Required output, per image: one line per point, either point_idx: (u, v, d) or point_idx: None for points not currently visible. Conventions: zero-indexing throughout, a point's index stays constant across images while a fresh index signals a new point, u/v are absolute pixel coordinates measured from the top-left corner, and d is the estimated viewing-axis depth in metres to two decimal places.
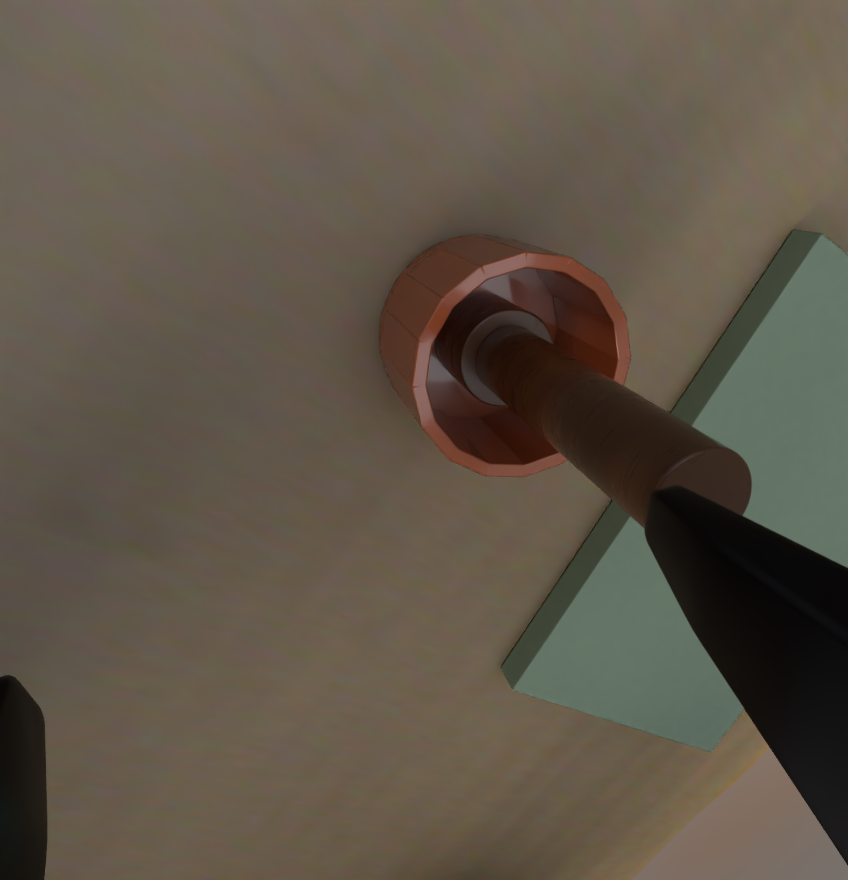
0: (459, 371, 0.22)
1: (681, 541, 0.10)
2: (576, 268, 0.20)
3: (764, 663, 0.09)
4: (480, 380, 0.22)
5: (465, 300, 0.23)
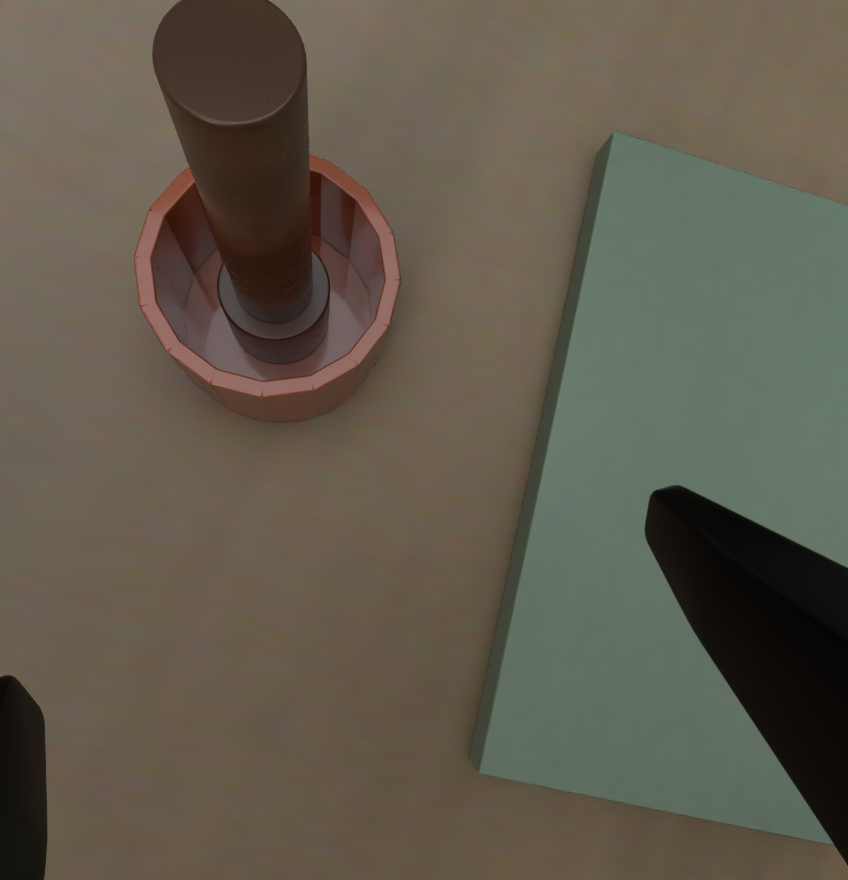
0: (224, 312, 0.20)
1: (681, 541, 0.10)
2: None
3: (764, 663, 0.09)
4: (247, 312, 0.20)
5: None
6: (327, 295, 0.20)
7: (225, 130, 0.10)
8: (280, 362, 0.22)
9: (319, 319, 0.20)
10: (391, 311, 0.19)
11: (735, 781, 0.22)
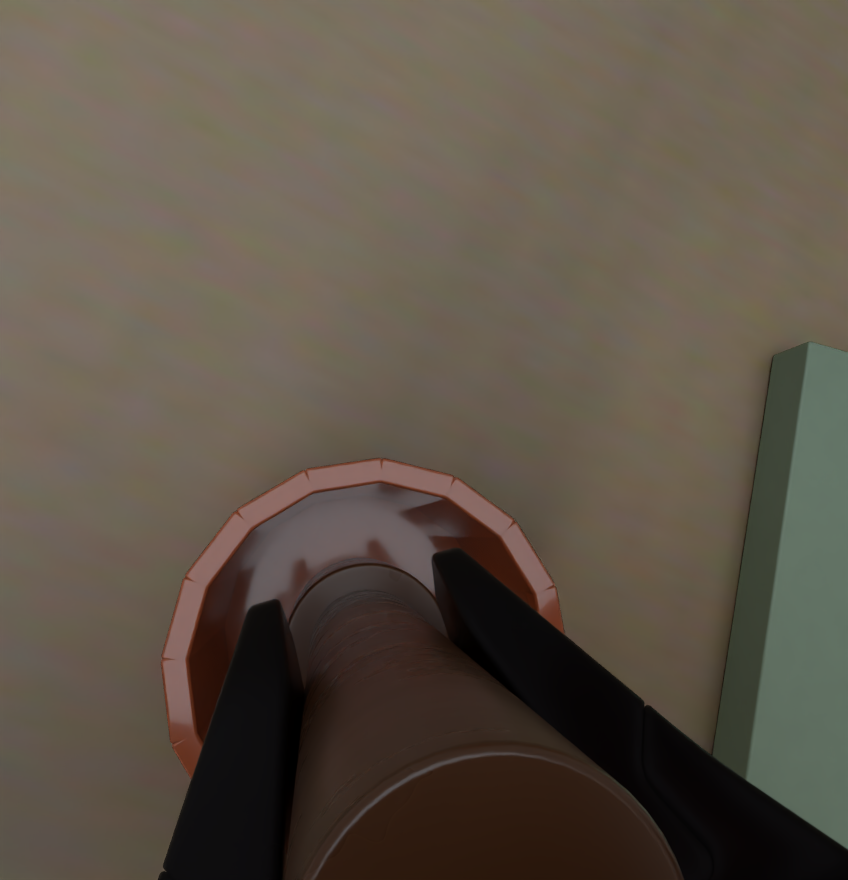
0: None
1: (450, 611, 0.09)
2: (399, 470, 0.12)
3: None
4: None
5: (313, 578, 0.16)
6: None
7: None
8: None
9: None
10: None
11: None
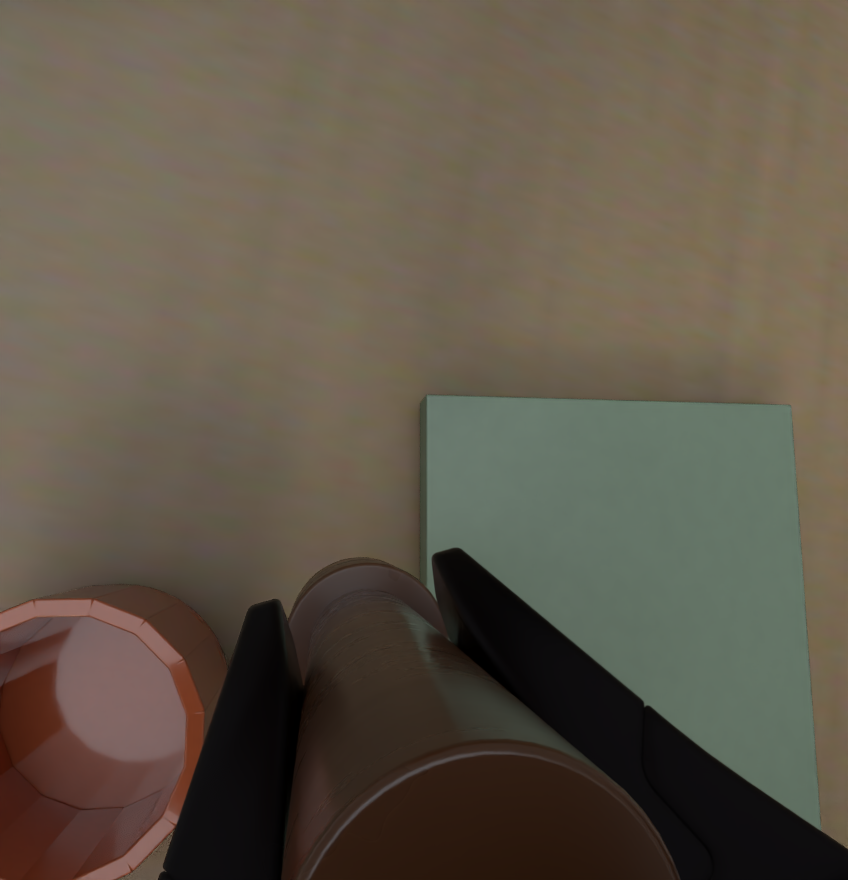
0: None
1: (450, 611, 0.09)
2: (48, 605, 0.17)
3: None
4: None
5: (312, 577, 0.16)
6: None
7: None
8: None
9: None
10: (200, 751, 0.17)
11: None
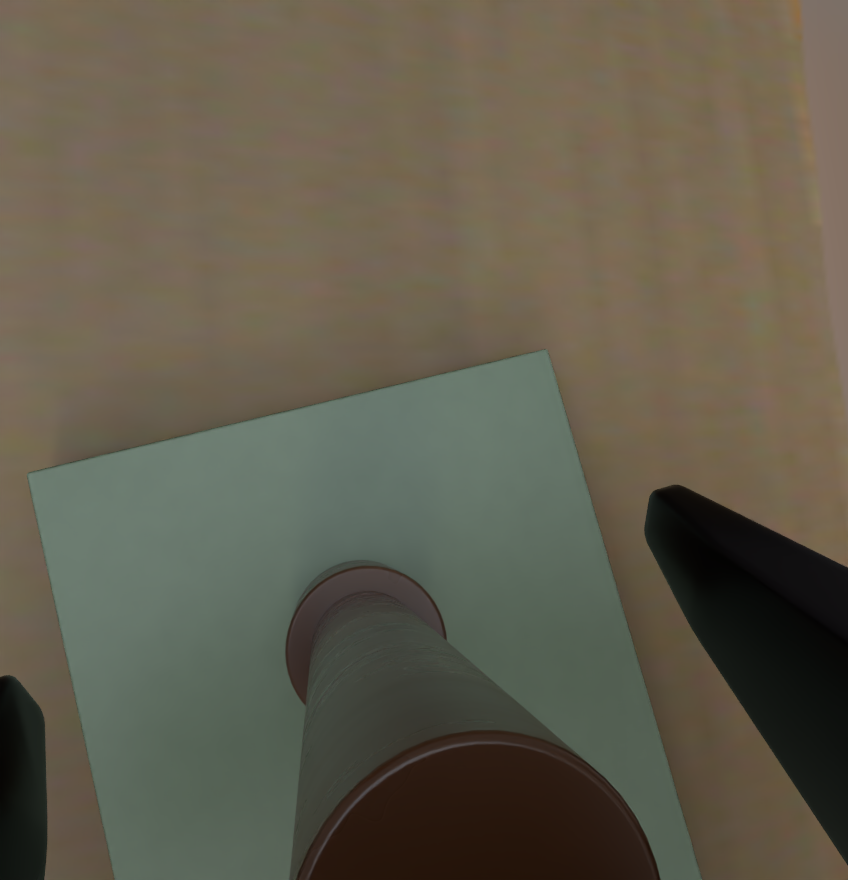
0: (295, 689, 0.14)
1: (681, 541, 0.10)
2: None
3: (764, 663, 0.09)
4: None
5: (314, 580, 0.16)
6: None
7: None
8: None
9: None
10: None
11: None
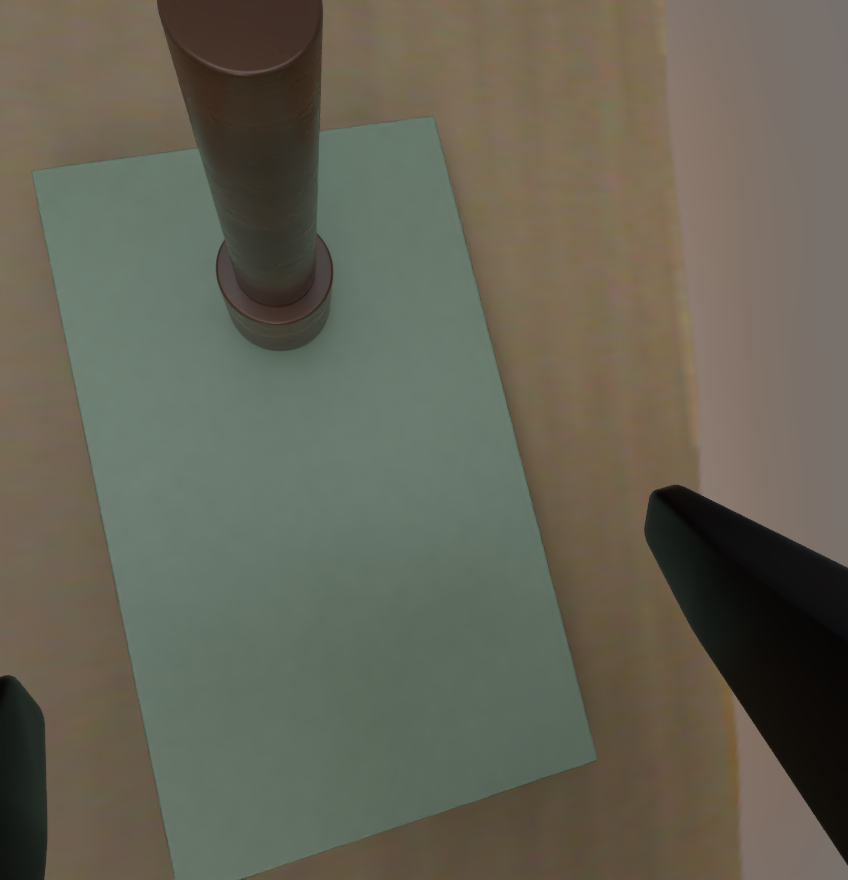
0: (222, 293, 0.19)
1: (681, 541, 0.10)
2: None
3: (764, 663, 0.09)
4: (246, 295, 0.19)
5: None
6: (330, 279, 0.19)
7: (233, 80, 0.09)
8: (279, 349, 0.22)
9: (321, 304, 0.19)
10: None
11: (449, 762, 0.21)
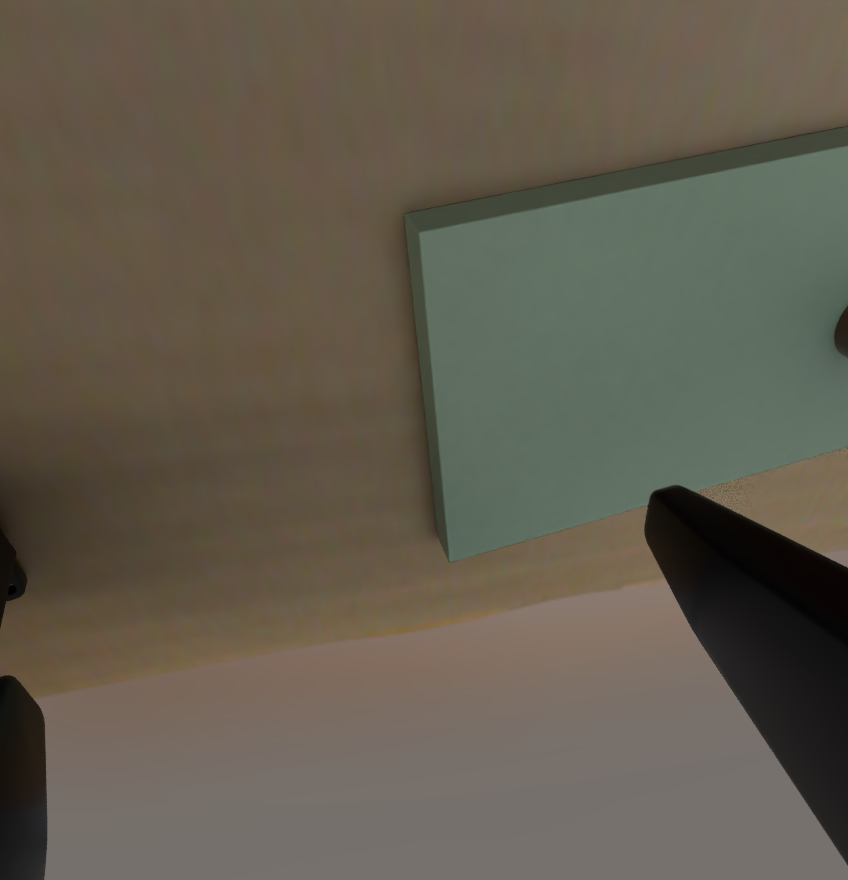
0: None
1: (681, 541, 0.10)
2: None
3: (764, 663, 0.09)
4: None
5: None
6: None
7: None
8: (844, 321, 0.24)
9: None
10: None
11: (478, 462, 0.24)
